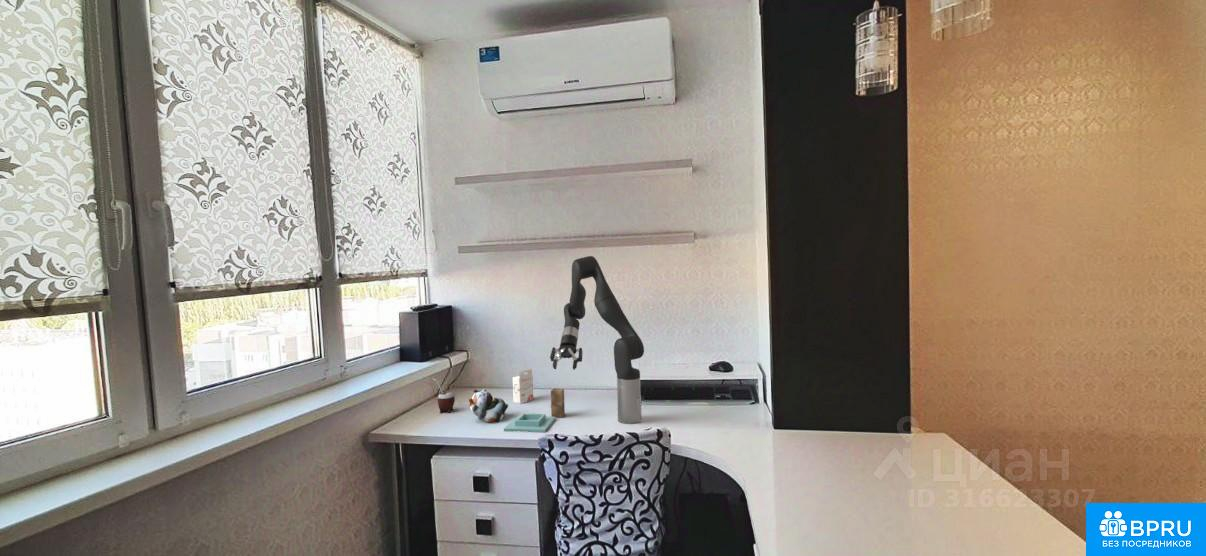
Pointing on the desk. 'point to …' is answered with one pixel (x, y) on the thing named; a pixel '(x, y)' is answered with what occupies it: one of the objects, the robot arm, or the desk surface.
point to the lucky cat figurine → (487, 406)
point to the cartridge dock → (530, 423)
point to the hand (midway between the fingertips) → (564, 368)
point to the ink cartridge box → (523, 387)
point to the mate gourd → (445, 400)
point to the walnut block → (557, 403)
